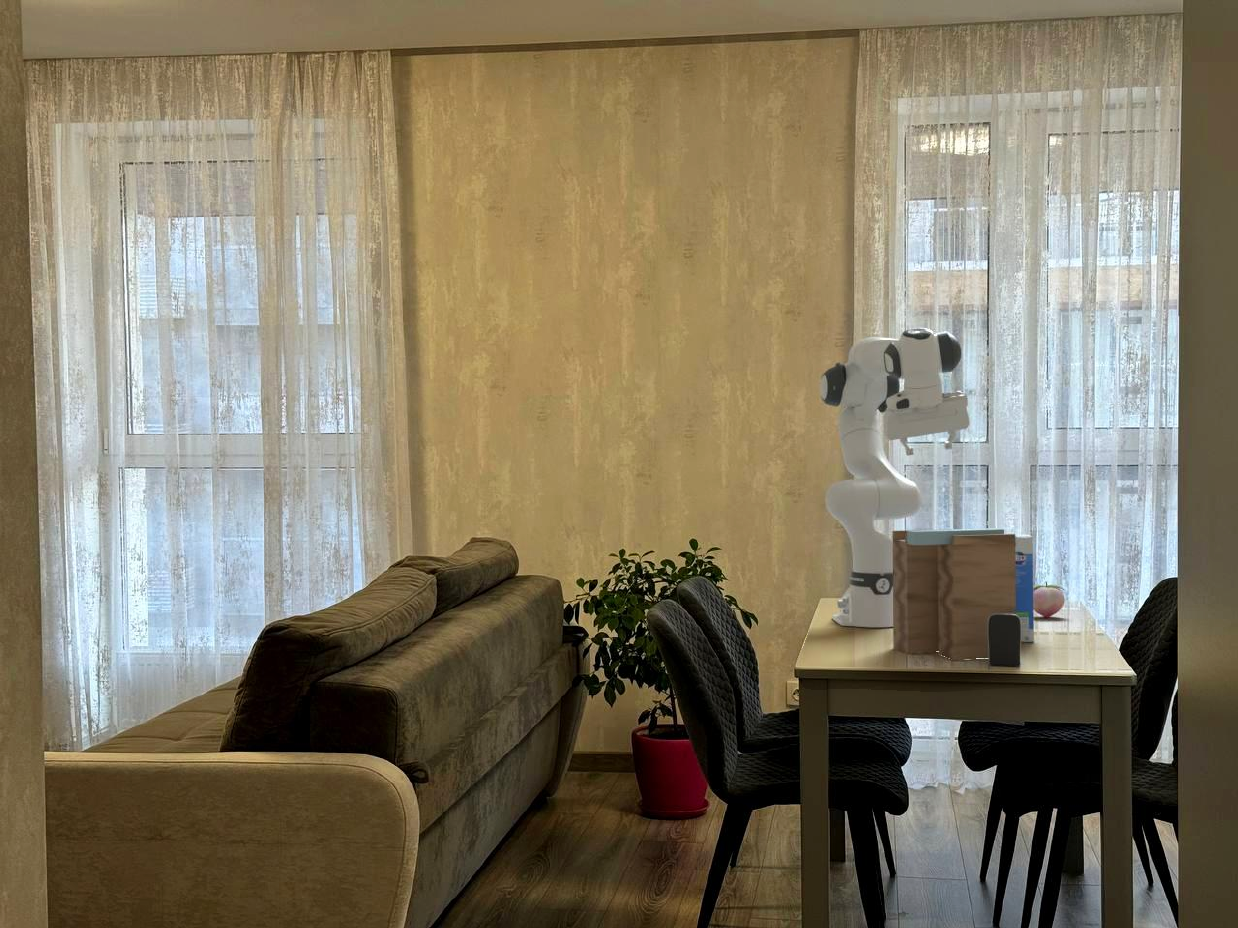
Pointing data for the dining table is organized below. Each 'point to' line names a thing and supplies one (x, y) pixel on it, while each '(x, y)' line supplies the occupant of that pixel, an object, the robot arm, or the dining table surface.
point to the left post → (915, 595)
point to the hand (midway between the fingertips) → (929, 451)
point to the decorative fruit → (1047, 599)
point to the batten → (945, 535)
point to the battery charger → (1004, 639)
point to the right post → (973, 591)
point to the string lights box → (1024, 585)
